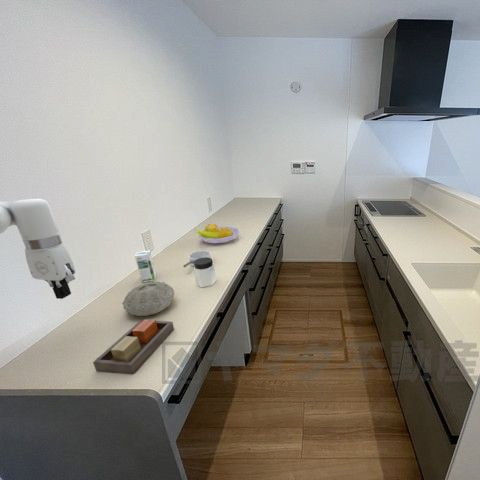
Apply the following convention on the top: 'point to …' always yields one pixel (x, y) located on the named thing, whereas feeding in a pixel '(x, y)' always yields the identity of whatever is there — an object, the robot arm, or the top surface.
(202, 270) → the jar
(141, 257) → the syrup box
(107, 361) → the soap bar tray
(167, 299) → the grey rounded stone
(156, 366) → the top surface
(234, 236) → the fruit bowl
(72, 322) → the top surface
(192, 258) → the saucepan
